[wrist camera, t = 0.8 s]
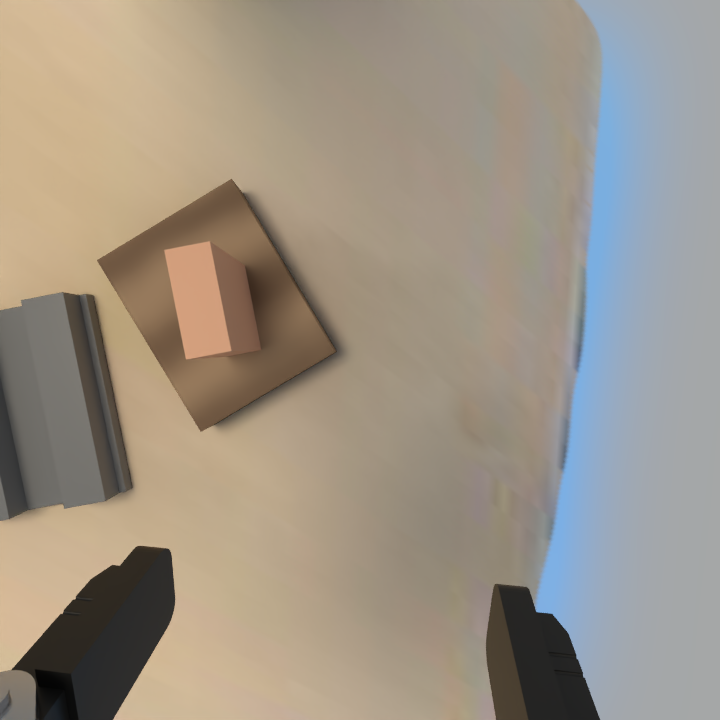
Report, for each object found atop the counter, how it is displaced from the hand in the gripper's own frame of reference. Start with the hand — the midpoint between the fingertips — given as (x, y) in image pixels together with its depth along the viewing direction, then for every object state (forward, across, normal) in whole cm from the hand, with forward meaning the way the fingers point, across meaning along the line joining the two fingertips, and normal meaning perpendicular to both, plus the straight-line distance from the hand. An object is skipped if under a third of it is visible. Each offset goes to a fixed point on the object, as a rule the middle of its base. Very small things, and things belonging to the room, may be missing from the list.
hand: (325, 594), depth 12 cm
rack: (+23, +26, +6) cm, 35 cm away
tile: (+23, +10, -2) cm, 26 cm away
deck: (+26, +12, -1) cm, 29 cm away
